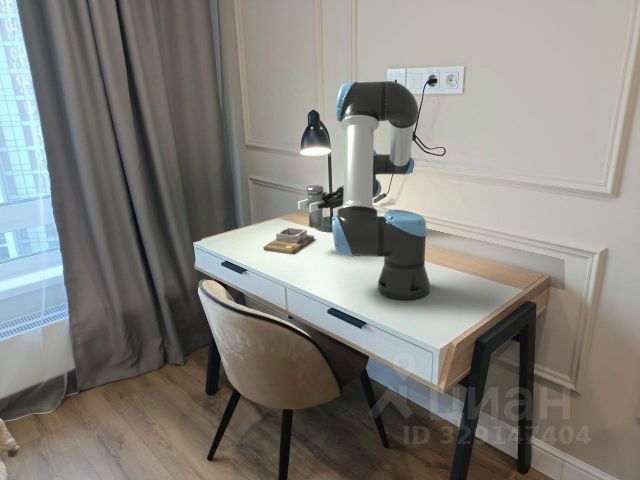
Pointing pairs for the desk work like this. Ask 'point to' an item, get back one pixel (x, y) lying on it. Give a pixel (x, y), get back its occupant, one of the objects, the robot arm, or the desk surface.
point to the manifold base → (289, 241)
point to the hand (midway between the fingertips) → (304, 206)
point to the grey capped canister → (313, 197)
